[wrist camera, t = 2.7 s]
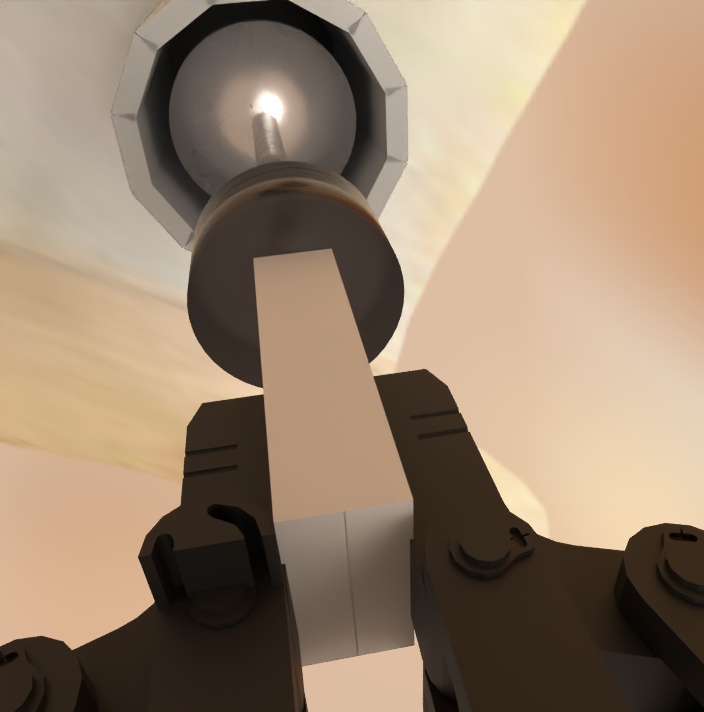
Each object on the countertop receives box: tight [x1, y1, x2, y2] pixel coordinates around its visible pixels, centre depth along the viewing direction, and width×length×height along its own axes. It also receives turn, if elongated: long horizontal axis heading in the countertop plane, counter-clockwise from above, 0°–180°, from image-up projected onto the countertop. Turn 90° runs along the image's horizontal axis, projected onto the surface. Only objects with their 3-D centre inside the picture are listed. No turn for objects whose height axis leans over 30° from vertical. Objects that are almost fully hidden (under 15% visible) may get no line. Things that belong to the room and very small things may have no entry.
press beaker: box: [111, 0, 408, 252], centre depth 30 cm, size 13×11×15 cm
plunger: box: [169, 19, 404, 388], centre depth 19 cm, size 7×7×15 cm
